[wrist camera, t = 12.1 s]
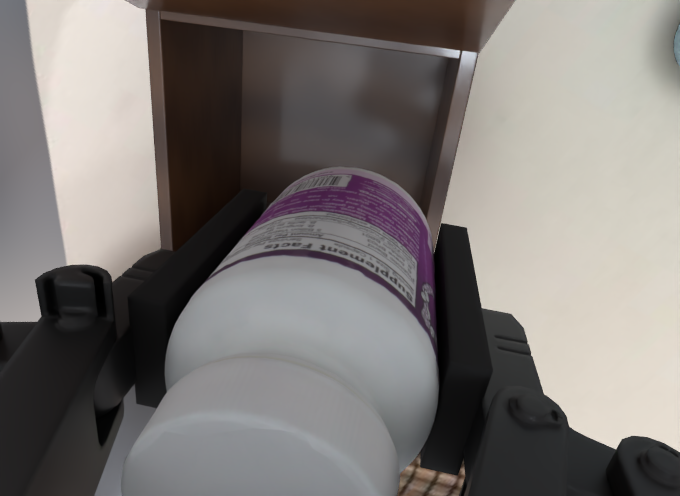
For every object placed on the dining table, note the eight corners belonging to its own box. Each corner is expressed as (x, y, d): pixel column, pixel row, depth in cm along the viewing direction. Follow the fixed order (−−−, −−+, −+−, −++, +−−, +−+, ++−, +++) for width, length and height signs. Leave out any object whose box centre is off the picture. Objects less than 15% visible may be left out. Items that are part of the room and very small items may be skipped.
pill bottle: (397, 336, 17) (366, 681, 8) (251, 283, 17) (63, 569, 8) (463, 196, 14) (518, 474, 6) (291, 134, 14) (81, 315, 6)
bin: (423, 233, 41) (418, 319, 30) (234, 200, 43) (162, 270, 31) (465, 32, 34) (480, 43, 22) (237, 2, 35) (144, -1, 24)
